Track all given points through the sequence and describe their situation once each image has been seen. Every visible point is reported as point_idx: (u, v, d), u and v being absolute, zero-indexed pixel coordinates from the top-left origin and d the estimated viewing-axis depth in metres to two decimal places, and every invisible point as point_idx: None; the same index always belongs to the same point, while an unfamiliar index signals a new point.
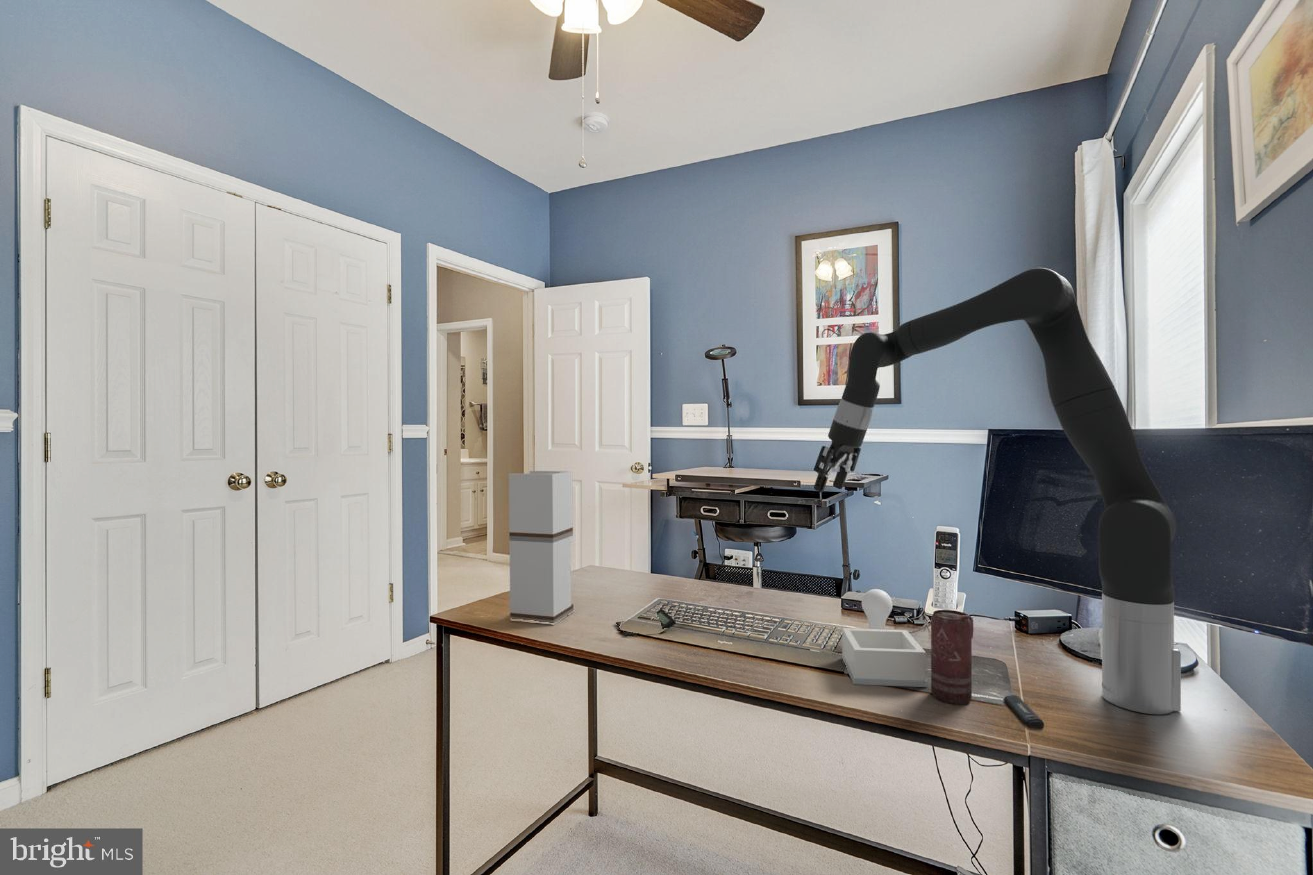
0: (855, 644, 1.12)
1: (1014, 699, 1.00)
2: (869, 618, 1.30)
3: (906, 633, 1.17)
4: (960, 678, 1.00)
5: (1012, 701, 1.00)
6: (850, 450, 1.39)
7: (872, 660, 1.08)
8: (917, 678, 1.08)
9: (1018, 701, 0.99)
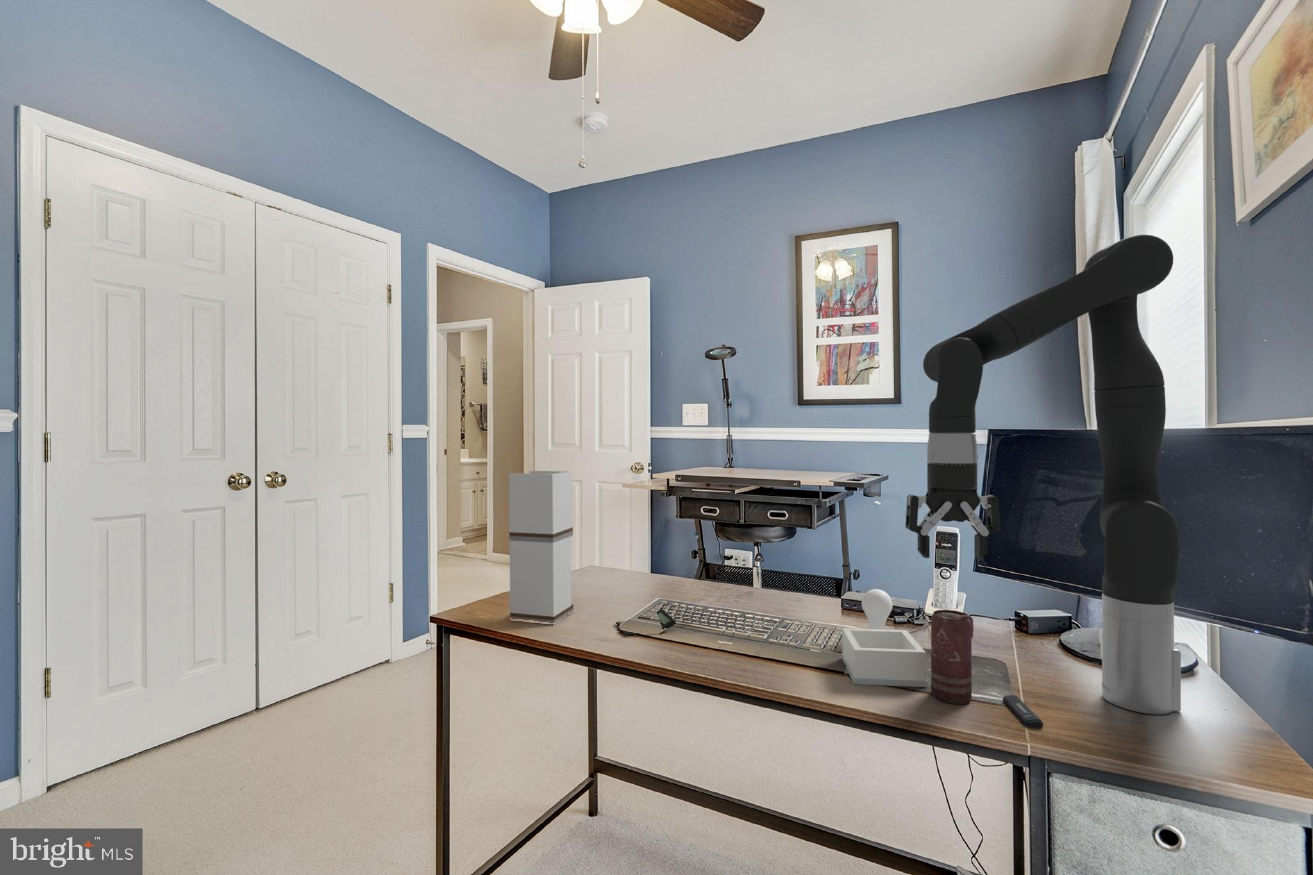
0: (855, 644, 1.12)
1: (1013, 699, 1.00)
2: (869, 618, 1.30)
3: (906, 633, 1.17)
4: (960, 678, 1.00)
5: (1010, 701, 1.00)
6: None
7: (872, 660, 1.08)
8: (917, 678, 1.08)
9: (1017, 701, 0.99)
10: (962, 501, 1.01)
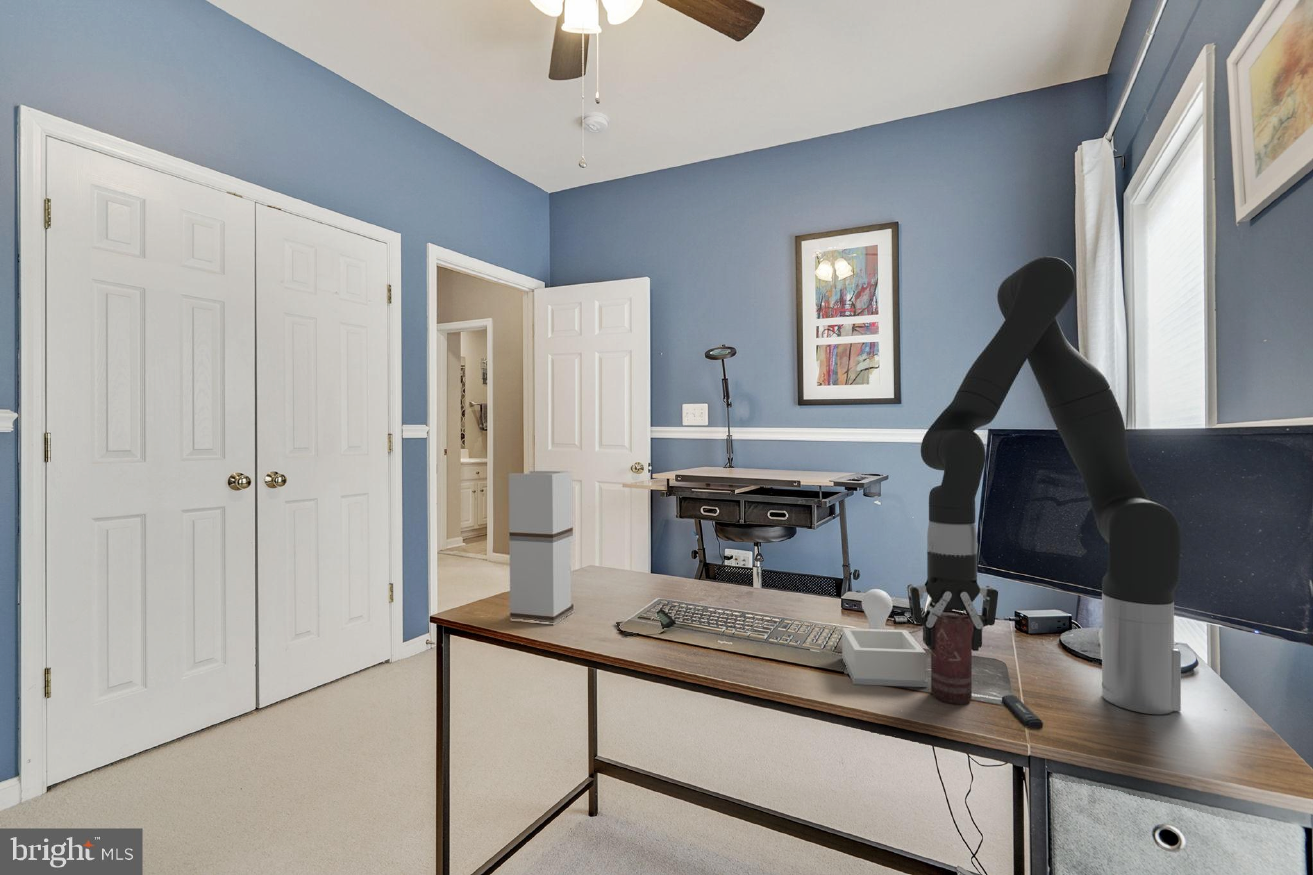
0: (855, 644, 1.12)
1: (1012, 699, 1.00)
2: (869, 618, 1.30)
3: (906, 633, 1.17)
4: (960, 678, 1.00)
5: (1010, 701, 1.00)
6: None
7: (872, 660, 1.08)
8: (917, 678, 1.08)
9: (1016, 701, 0.99)
10: (963, 591, 1.01)
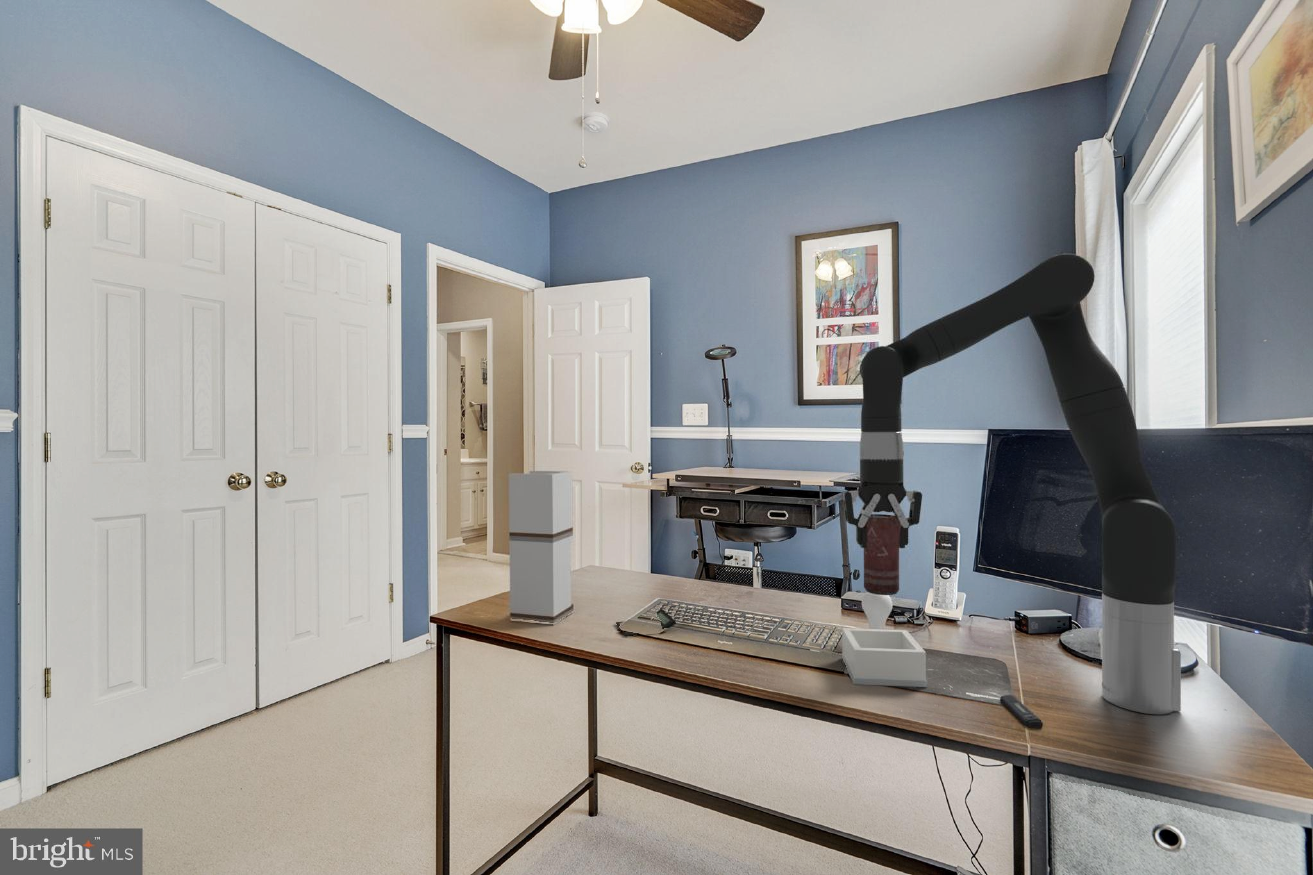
0: (855, 644, 1.12)
1: (1010, 699, 1.00)
2: (869, 618, 1.30)
3: (906, 633, 1.17)
4: (887, 571, 1.11)
5: (1008, 701, 1.00)
6: None
7: (872, 660, 1.08)
8: (917, 678, 1.08)
9: (1014, 701, 0.99)
10: (890, 493, 1.12)
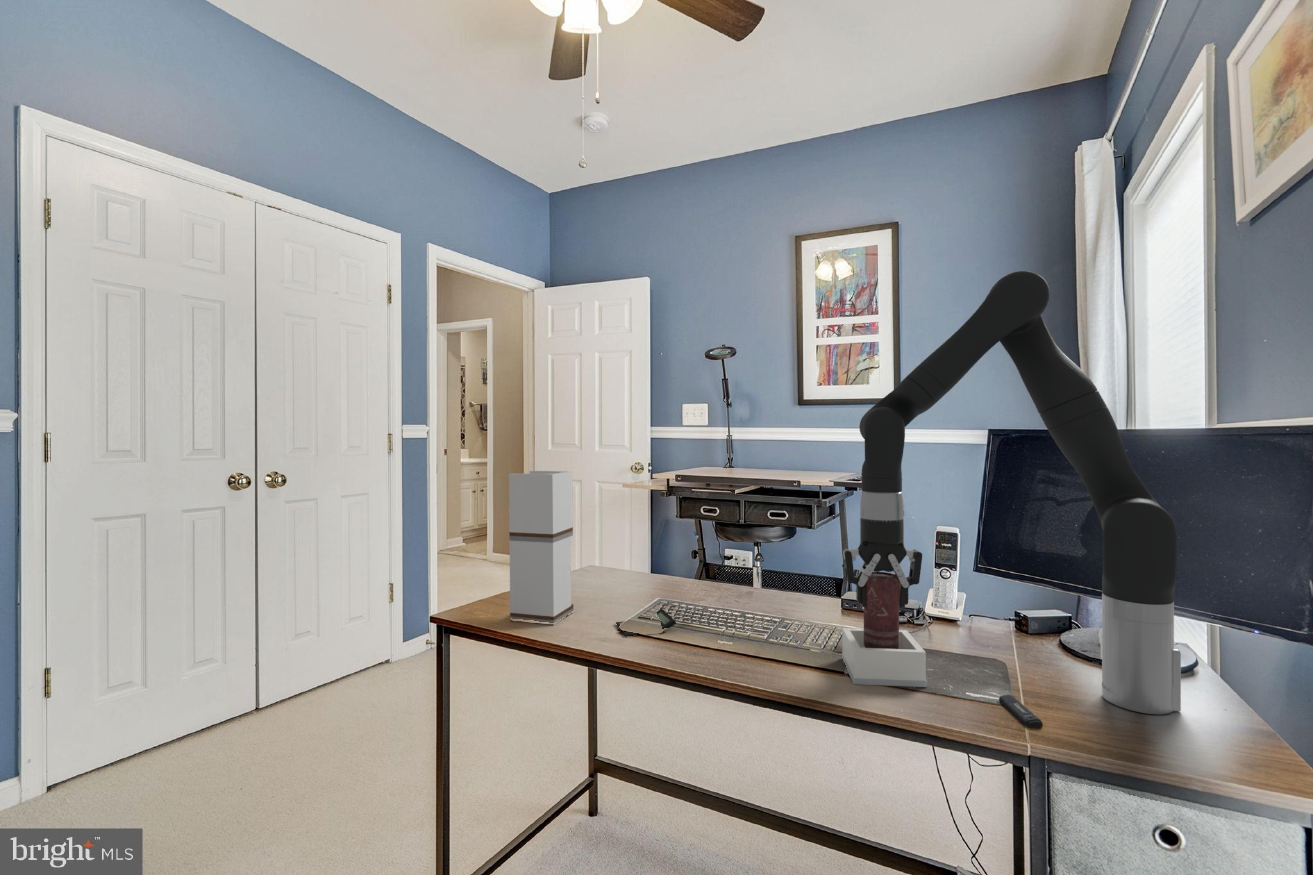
0: (855, 644, 1.12)
1: (1010, 699, 1.00)
2: None
3: (906, 633, 1.17)
4: (887, 631, 1.11)
5: (1007, 701, 1.00)
6: None
7: (872, 660, 1.08)
8: (917, 678, 1.08)
9: (1014, 701, 0.99)
10: (890, 553, 1.12)
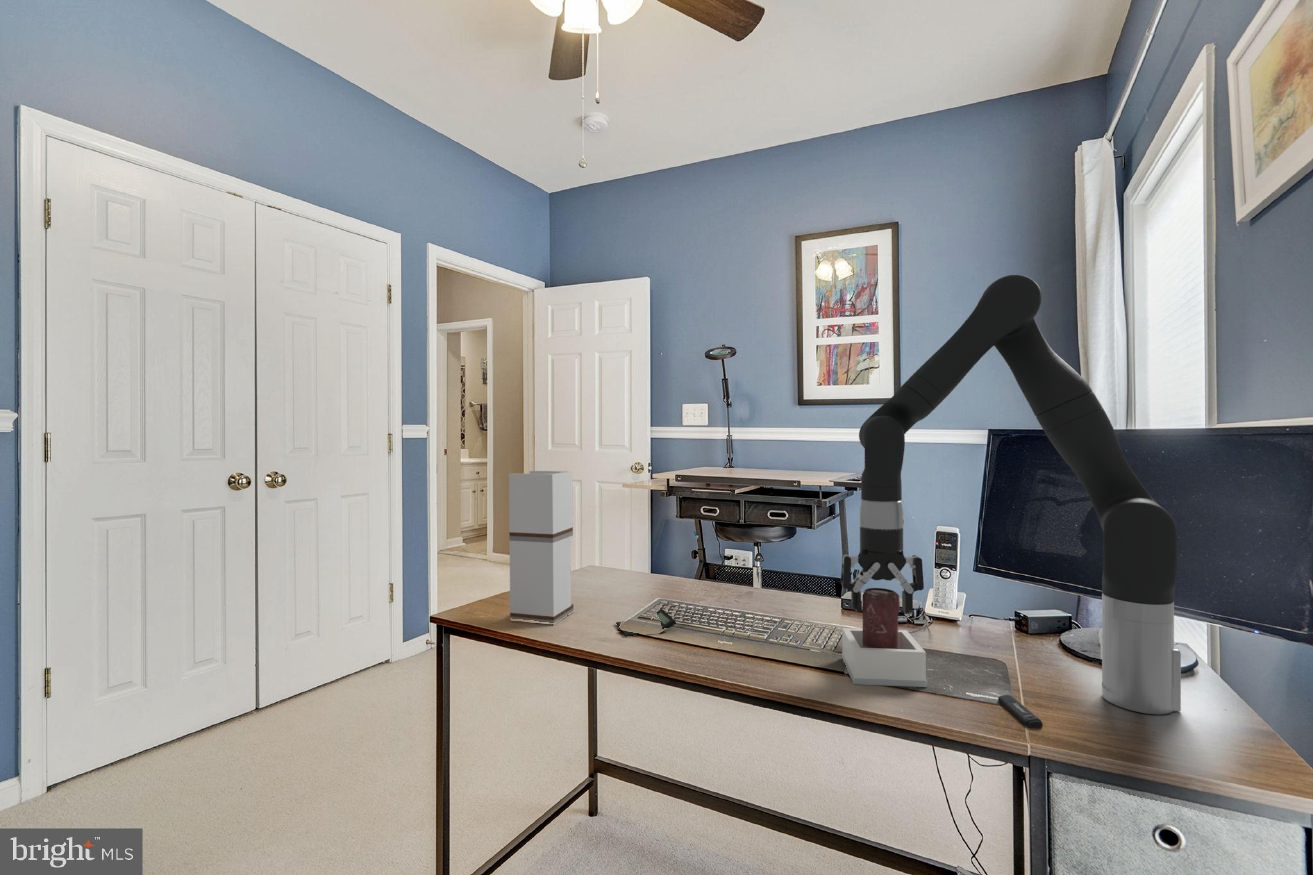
0: (855, 644, 1.12)
1: (1009, 699, 1.00)
2: None
3: (906, 633, 1.17)
4: (886, 648, 1.11)
5: (1007, 701, 1.00)
6: None
7: (872, 660, 1.08)
8: (917, 678, 1.08)
9: (1013, 701, 0.99)
10: (889, 562, 1.12)
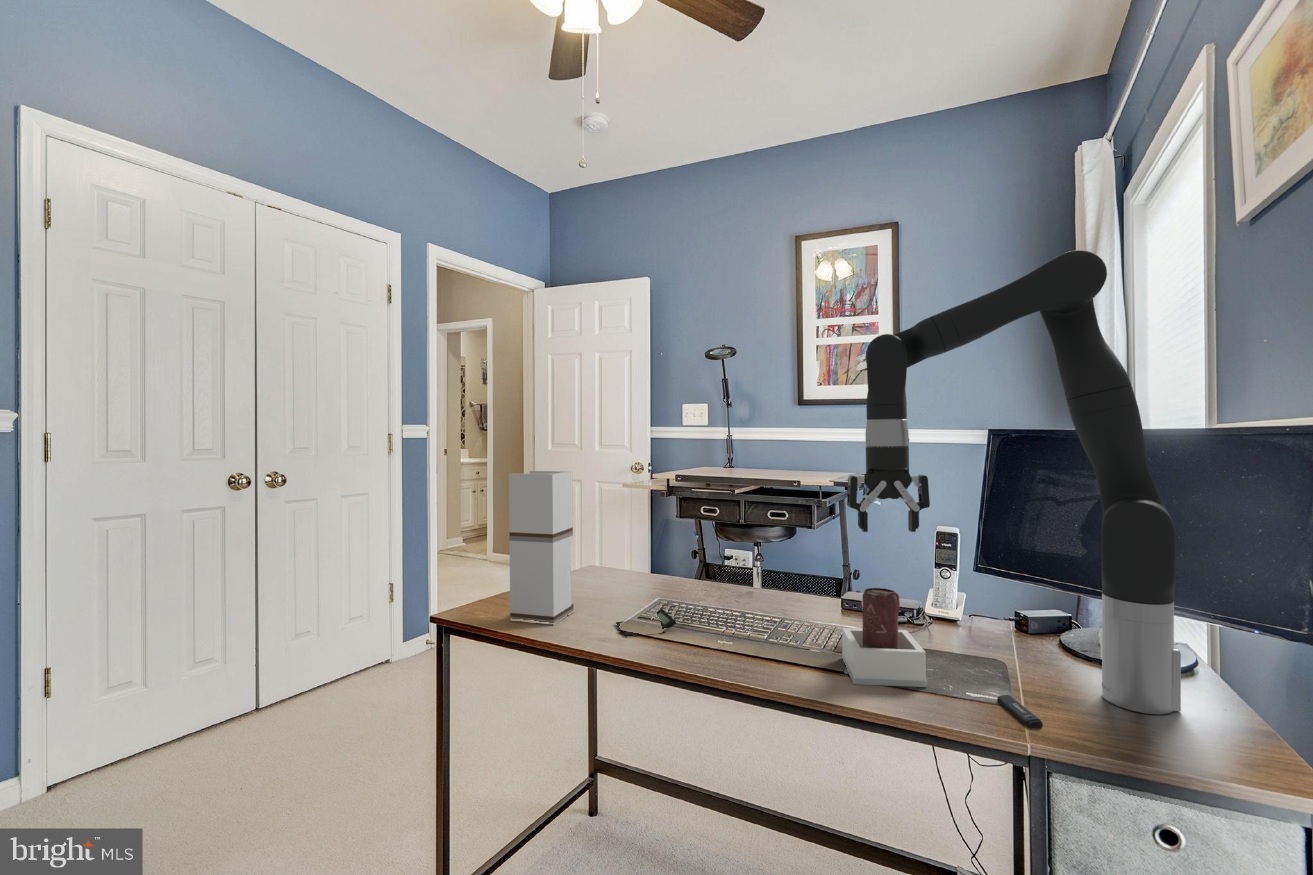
0: (855, 644, 1.12)
1: (1008, 699, 1.00)
2: None
3: (906, 633, 1.17)
4: (886, 648, 1.11)
5: (1006, 701, 1.00)
6: None
7: (872, 660, 1.08)
8: (917, 678, 1.08)
9: (1012, 701, 0.99)
10: (896, 480, 1.13)
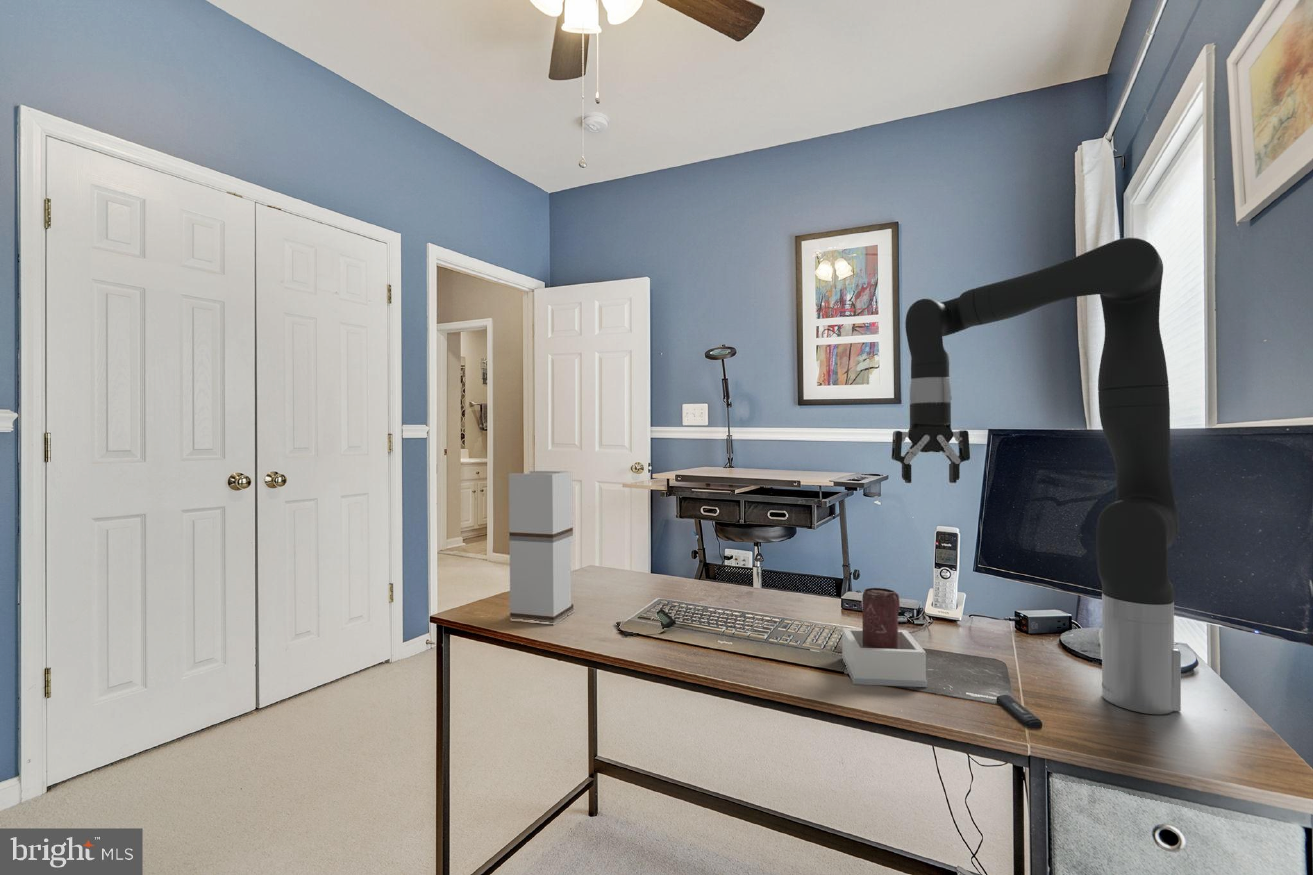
0: (855, 644, 1.12)
1: (1007, 699, 1.00)
2: None
3: (906, 633, 1.17)
4: (886, 648, 1.11)
5: (1005, 701, 1.00)
6: None
7: (872, 660, 1.08)
8: (917, 678, 1.08)
9: (1011, 701, 0.99)
10: (938, 434, 1.21)
